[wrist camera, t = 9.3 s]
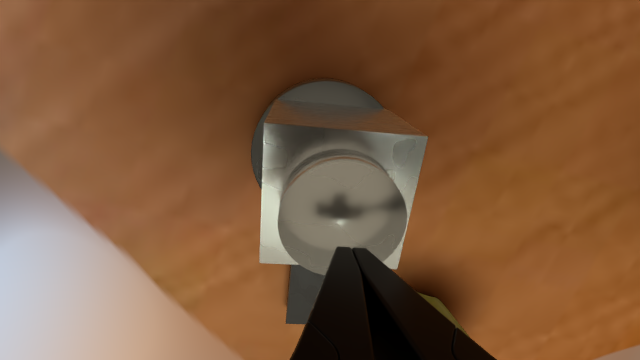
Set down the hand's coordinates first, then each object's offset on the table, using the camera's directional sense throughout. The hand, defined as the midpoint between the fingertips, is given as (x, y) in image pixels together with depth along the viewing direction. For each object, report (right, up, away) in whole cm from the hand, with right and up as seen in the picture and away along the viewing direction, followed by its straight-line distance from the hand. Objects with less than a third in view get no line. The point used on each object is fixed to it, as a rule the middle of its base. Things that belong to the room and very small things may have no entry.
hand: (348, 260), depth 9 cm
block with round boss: (0, +3, +8) cm, 9 cm away
